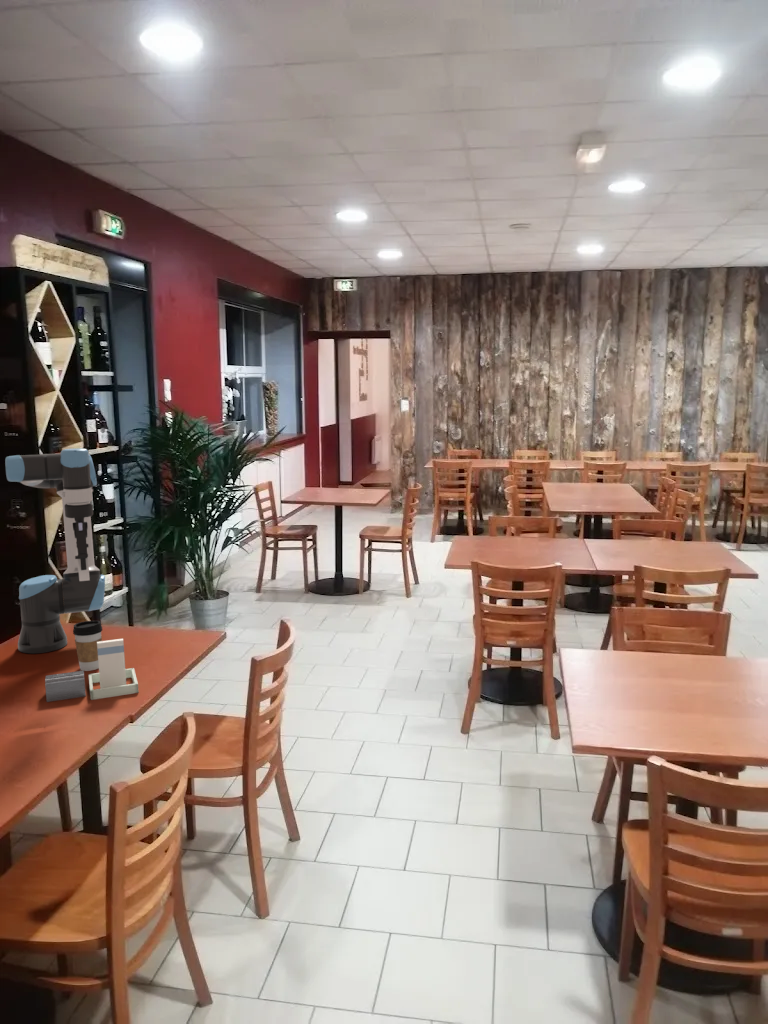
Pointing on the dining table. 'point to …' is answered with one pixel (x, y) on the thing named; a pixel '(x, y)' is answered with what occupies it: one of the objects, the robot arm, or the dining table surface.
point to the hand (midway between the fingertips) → (83, 575)
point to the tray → (113, 690)
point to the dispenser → (65, 686)
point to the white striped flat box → (111, 663)
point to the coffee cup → (87, 643)
